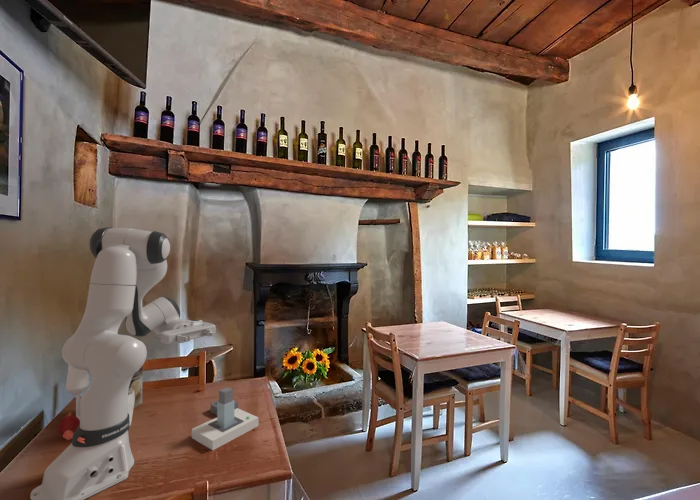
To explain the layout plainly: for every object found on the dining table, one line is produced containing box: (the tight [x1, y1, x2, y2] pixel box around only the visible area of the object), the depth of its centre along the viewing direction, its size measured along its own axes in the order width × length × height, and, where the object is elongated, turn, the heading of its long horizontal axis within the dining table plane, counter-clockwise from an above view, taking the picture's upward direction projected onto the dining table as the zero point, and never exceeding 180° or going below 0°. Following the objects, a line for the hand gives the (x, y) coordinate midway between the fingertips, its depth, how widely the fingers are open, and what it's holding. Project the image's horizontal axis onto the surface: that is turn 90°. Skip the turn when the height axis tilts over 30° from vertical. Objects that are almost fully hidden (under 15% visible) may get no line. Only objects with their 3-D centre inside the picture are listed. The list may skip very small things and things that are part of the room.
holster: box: [210, 399, 239, 416], centre depth 131 cm, size 7×8×3 cm
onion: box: [57, 412, 80, 437], centre depth 113 cm, size 6×6×8 cm
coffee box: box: [129, 364, 144, 410], centre depth 133 cm, size 9×6×16 cm
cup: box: [128, 388, 135, 426], centre depth 119 cm, size 9×9×12 cm
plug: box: [216, 387, 235, 429], centre depth 116 cm, size 4×4×14 cm
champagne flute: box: [65, 364, 91, 420], centre depth 123 cm, size 7×7×24 cm
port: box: [191, 407, 260, 451], centre depth 116 cm, size 18×12×3 cm, turn 145°
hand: (200, 336), depth 127 cm, fingers open, 8 cm apart
